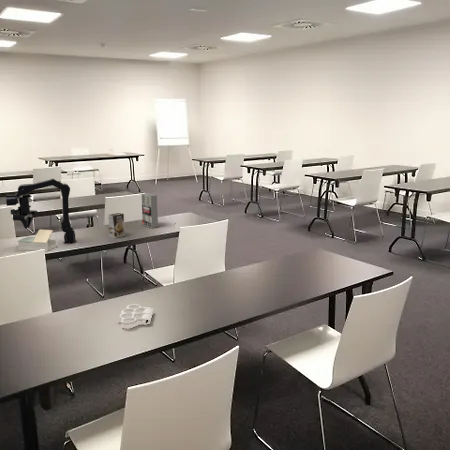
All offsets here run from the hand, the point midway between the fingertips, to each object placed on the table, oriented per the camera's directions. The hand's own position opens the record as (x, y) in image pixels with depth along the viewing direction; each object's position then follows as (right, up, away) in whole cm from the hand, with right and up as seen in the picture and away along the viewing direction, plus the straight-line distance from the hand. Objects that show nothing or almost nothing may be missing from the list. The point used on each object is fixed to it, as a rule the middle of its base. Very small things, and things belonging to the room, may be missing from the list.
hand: (26, 228), depth 285 cm
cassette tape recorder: (+70, +1, +57) cm, 90 cm away
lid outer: (+2, -8, 0) cm, 8 cm away
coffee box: (+52, -6, +29) cm, 59 cm away
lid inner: (+12, -5, -3) cm, 13 cm away
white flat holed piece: (+90, -38, -100) cm, 140 cm away
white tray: (+7, -13, +1) cm, 15 cm away
